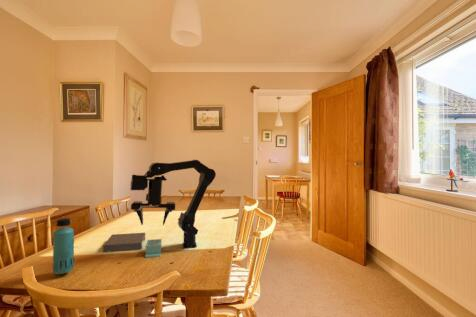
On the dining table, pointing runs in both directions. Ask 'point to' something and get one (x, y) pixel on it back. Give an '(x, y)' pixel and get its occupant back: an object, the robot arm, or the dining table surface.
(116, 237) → the stand
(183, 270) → the dining table surface
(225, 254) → the dining table surface
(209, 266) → the dining table surface
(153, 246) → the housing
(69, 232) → the beverage bottle
